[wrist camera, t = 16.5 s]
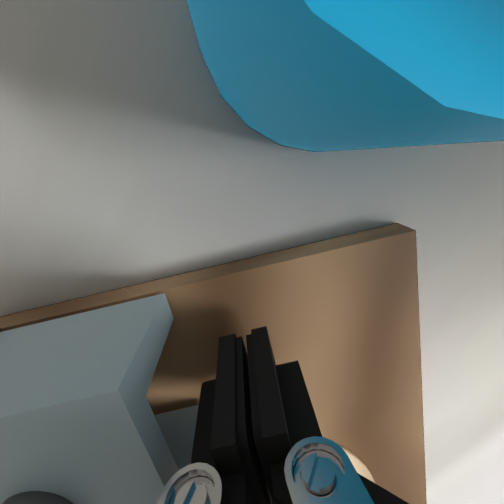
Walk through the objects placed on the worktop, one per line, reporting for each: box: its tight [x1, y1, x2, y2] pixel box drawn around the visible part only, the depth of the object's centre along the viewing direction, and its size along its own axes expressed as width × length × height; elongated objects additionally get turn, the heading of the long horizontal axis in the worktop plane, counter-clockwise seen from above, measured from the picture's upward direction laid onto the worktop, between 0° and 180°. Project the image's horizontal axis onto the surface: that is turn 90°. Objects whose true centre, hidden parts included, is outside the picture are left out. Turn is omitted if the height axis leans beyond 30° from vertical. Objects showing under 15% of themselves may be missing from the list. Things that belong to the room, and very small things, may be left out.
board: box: [0, 223, 427, 504], centre depth 12 cm, size 16×19×4 cm
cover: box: [0, 293, 199, 504], centre depth 8 cm, size 6×6×5 cm
